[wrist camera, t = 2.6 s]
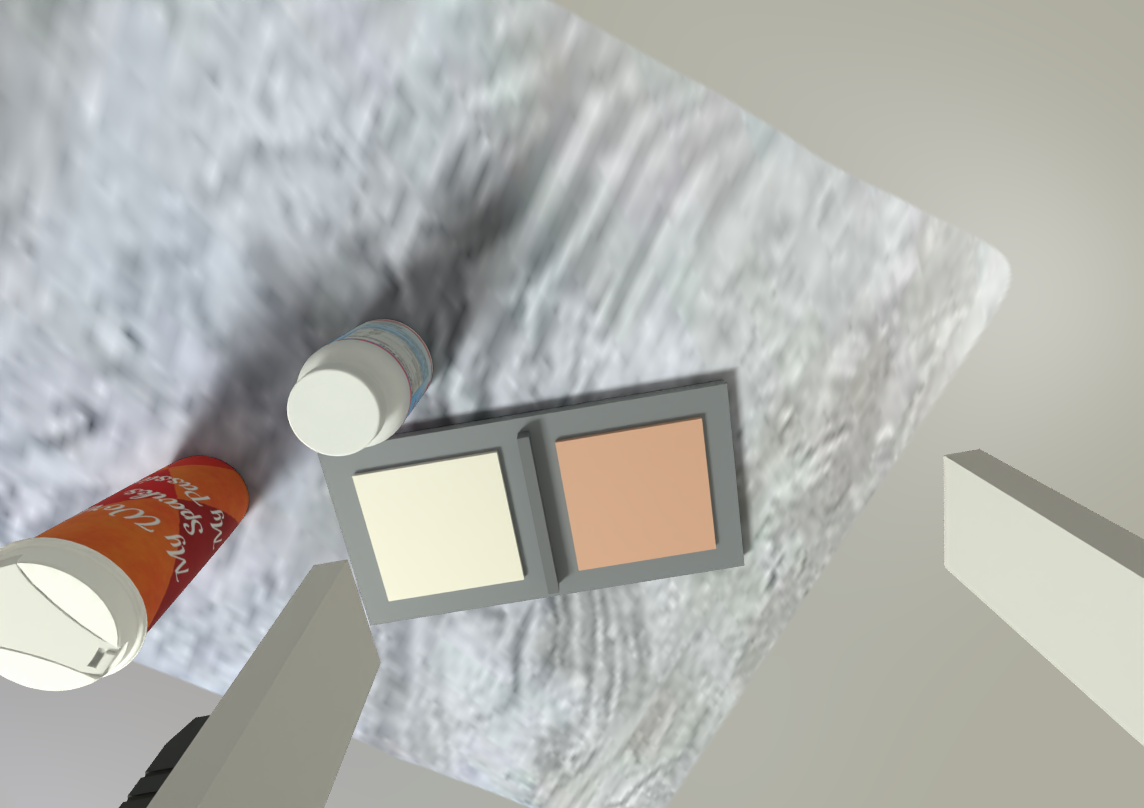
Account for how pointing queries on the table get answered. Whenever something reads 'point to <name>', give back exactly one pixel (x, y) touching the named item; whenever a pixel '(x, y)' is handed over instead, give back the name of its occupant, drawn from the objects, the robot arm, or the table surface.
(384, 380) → the pill bottle
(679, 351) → the table surface
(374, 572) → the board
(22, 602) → the coffee cup
